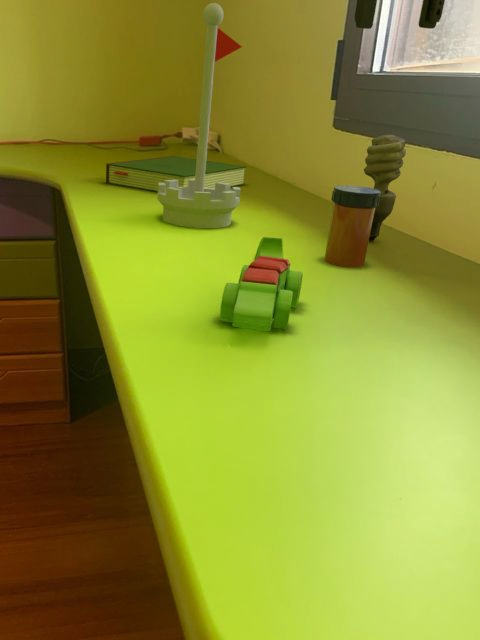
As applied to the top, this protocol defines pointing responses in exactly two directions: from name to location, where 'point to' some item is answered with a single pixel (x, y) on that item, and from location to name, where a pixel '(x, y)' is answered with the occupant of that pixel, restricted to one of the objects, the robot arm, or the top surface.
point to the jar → (349, 235)
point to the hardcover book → (170, 172)
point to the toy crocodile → (263, 290)
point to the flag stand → (203, 149)
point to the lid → (356, 196)
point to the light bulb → (384, 174)
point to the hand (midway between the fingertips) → (393, 28)
